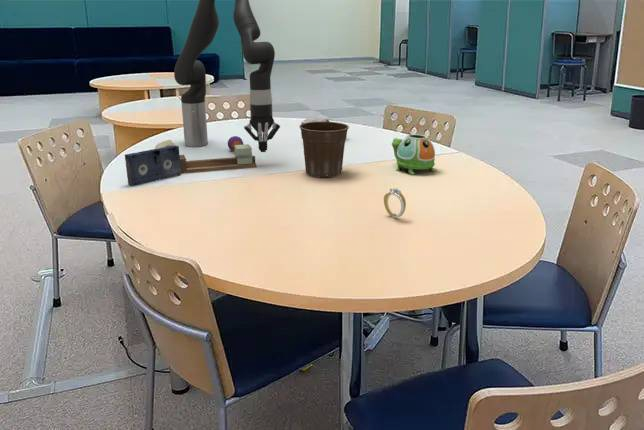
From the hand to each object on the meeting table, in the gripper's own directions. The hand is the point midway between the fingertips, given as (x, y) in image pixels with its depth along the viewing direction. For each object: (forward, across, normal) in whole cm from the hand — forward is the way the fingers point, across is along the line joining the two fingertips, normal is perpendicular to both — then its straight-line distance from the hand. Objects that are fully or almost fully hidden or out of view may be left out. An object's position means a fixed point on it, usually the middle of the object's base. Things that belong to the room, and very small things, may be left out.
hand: (263, 151), depth 210 cm
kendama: (+5, +6, -17) cm, 19 cm away
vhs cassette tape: (+5, +38, +8) cm, 39 cm away
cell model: (+5, -32, -29) cm, 43 cm away
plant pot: (+5, -17, +18) cm, 25 cm away
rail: (+5, +16, 0) cm, 17 cm away
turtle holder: (+5, -47, +23) cm, 52 cm away
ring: (+5, -21, +66) cm, 69 cm away
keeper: (+3, +7, 0) cm, 8 cm away
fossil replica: (+5, +33, -12) cm, 35 cm away
